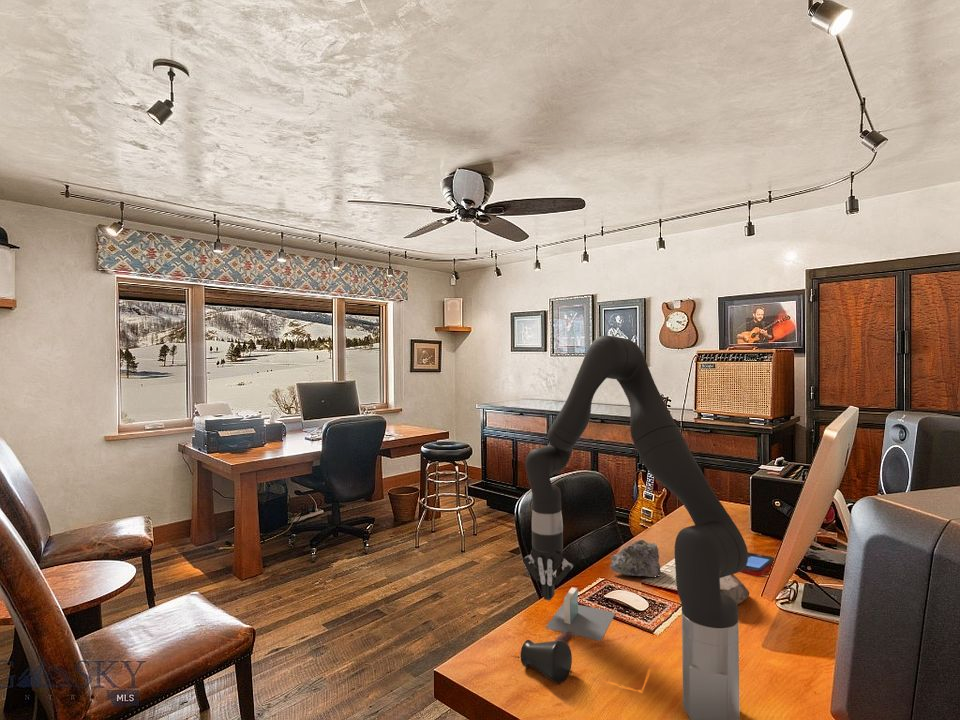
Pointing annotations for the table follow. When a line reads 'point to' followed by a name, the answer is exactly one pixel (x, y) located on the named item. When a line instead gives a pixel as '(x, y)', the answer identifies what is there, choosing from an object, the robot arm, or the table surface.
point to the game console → (757, 564)
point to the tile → (570, 605)
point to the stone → (733, 588)
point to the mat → (583, 622)
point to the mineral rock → (637, 560)
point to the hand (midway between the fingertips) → (548, 598)
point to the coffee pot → (549, 657)
